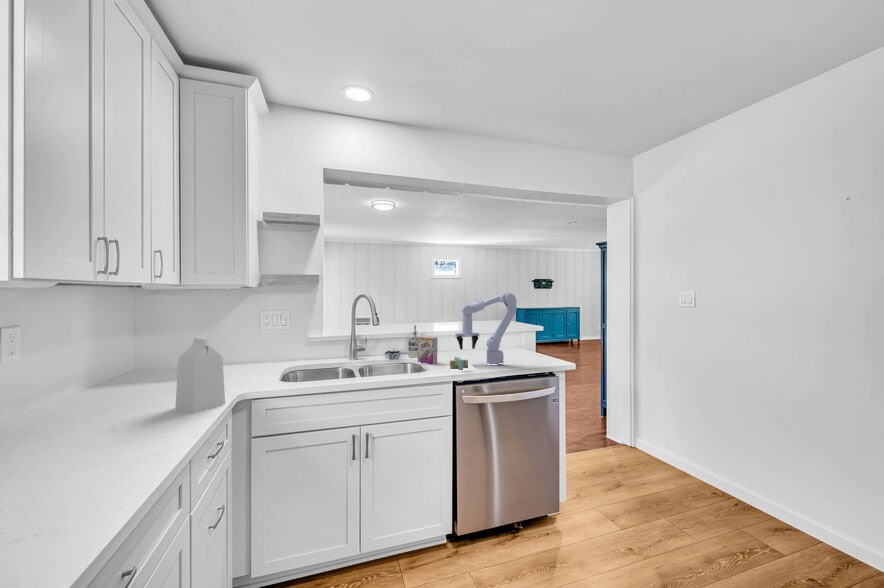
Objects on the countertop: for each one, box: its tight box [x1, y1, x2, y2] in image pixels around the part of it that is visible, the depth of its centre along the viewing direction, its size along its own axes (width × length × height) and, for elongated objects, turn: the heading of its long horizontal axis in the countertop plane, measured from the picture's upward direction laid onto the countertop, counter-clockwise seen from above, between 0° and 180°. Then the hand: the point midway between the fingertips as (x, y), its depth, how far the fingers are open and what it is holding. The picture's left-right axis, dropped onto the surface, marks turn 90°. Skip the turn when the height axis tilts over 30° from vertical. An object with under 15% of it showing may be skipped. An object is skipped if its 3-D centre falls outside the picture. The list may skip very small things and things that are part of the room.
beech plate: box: [449, 359, 469, 369], centre depth 206 cm, size 10×2×5 cm, turn 107°
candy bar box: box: [417, 335, 438, 365], centre depth 224 cm, size 11×5×16 cm, turn 58°
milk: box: [174, 337, 226, 414], centre depth 142 cm, size 12×12×26 cm
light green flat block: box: [453, 356, 465, 370], centre depth 206 cm, size 2×10×6 cm, turn 17°
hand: (467, 348), depth 220 cm, fingers open, 7 cm apart
